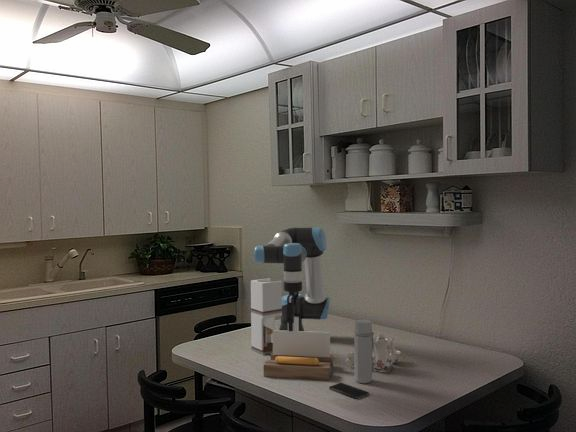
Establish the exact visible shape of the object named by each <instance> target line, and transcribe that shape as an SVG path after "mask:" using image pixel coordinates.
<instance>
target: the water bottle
mask: <svg viewBox="0 0 576 432" xmlns="http://www.w3.org/2000/svg"><path fill="white" fill-rule="evenodd" d="M353 332H354V335H353V336H354V338H353V339H354V342H353V343H354V353H355V367H354V380H355V382H357V383H359V384H369V383H371V382H372V381H373V371H372V368H373V367H372V355H373V352H374V359H375V350H374V348H375V346H374V340H373V339H374V335H375V334H374V332H373V326H372V321H371V320H370V319H356V320H355V322H354V331H353ZM375 366H376V359H375V365H374V368H375ZM374 368H373V369H374Z"/></svg>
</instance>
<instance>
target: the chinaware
mask: <svg viewBox="0 0 576 432" xmlns="http://www.w3.org/2000/svg"><path fill="white" fill-rule="evenodd" d="M394 340H395V337H392V338H391V339H388V338H386V337H385V336H383V334H382V332H381V333H379V334H378V336H377V337H373V341H374V349H373V351H372V367H373V368H374V365H375V359H376V366H375V368H374V369H373V368H372V370H374V371H373V372H375V371H379V372H385V373H387V372H386V371H389V370H390V369H392V368H393V366H394V364H393V363H394V362H395V363H396V362H397V363H399V361H402V362H403V361H404V360H405V359H406V358H405V354H403V352H402V351H400V350H399V349H397V348H396V349H395V345H394ZM388 341H389V348H388ZM374 350H375V359H374ZM402 355H403V359H400V356H402ZM348 361H349V363H350V364H348ZM345 364H346V365H347V366H351V367H353V366H354V367H353V368H355V352H353V353H347V359H346V360H345ZM390 371H391V370H390ZM390 371H389V372H390ZM379 372H378V373H379Z"/></svg>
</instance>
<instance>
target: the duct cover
mask: <svg viewBox="0 0 576 432" xmlns="http://www.w3.org/2000/svg"><path fill="white" fill-rule="evenodd" d="M272 343H273V355H289V356H310V357H330V355H331V332H327V331H310V330H309V331H308V330H307V331H305V330H304V331H299V332H295V339H288V331H284V330H279V329H275V330H273V333H272Z"/></svg>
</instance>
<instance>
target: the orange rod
mask: <svg viewBox="0 0 576 432" xmlns="http://www.w3.org/2000/svg"><path fill="white" fill-rule="evenodd" d="M275 361H276V363H280V364H299V365H318V364H319V360H318V359H317V358H305V357H285V356H277V357H276V358H275Z"/></svg>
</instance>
